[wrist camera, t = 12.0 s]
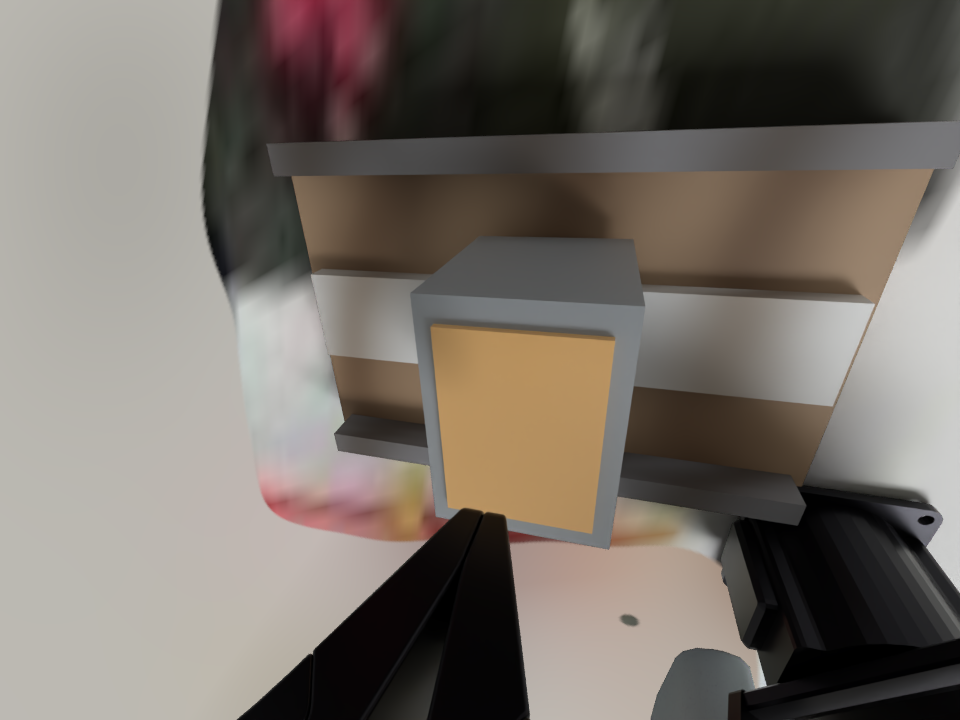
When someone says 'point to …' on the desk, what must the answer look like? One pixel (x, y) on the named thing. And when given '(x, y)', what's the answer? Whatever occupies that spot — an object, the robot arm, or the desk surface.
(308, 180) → the rail board
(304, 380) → the desk surface
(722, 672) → the flask
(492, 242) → the module
